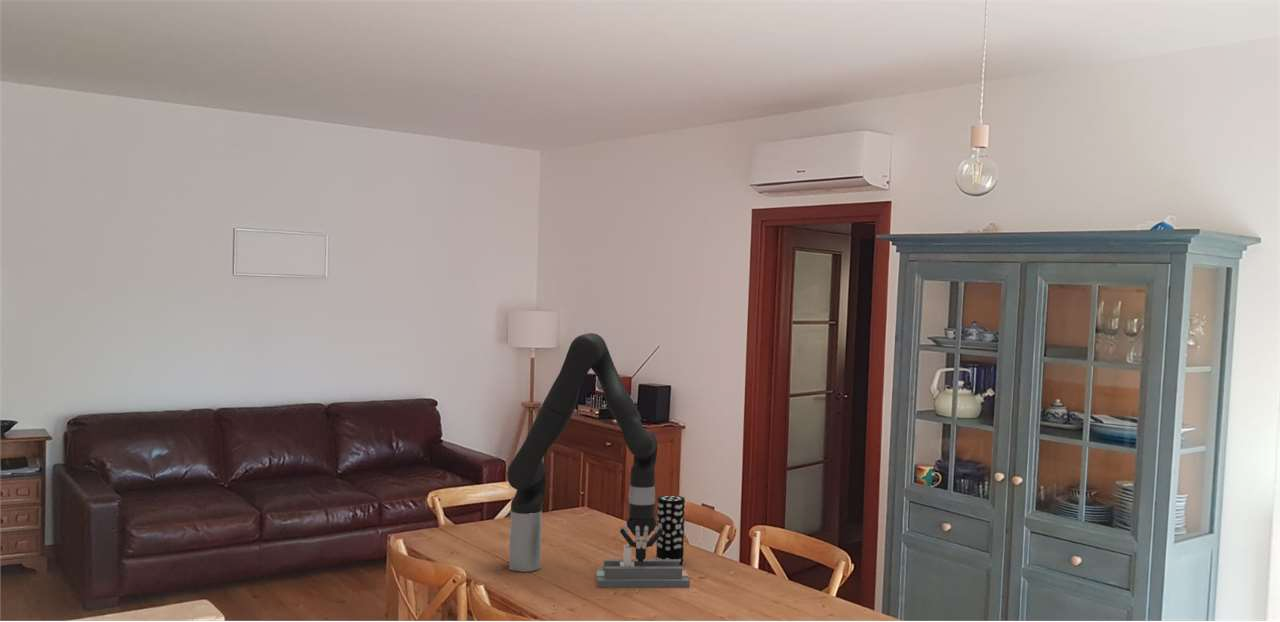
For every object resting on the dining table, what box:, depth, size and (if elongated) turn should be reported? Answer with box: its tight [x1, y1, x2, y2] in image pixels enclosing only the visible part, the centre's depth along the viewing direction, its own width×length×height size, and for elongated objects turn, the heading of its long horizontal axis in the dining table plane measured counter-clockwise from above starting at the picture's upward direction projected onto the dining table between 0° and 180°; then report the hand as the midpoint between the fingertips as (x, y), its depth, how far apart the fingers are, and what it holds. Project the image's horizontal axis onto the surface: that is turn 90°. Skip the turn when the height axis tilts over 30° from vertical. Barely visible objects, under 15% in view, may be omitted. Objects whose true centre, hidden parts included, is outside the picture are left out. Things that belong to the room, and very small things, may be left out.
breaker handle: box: [620, 544, 634, 566], centre depth 272 cm, size 4×4×8 cm
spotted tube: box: [655, 494, 686, 566], centre depth 291 cm, size 8×8×20 cm
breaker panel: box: [595, 558, 691, 589], centre depth 273 cm, size 26×12×5 cm, turn 94°
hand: (640, 560), depth 273 cm, fingers closed
